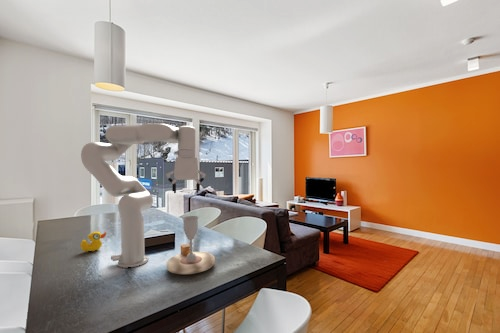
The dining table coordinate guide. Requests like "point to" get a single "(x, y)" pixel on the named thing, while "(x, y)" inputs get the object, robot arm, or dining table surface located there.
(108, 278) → the dining table surface
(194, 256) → the chalice
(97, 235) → the duckling
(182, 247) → the turntable
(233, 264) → the dining table surface
